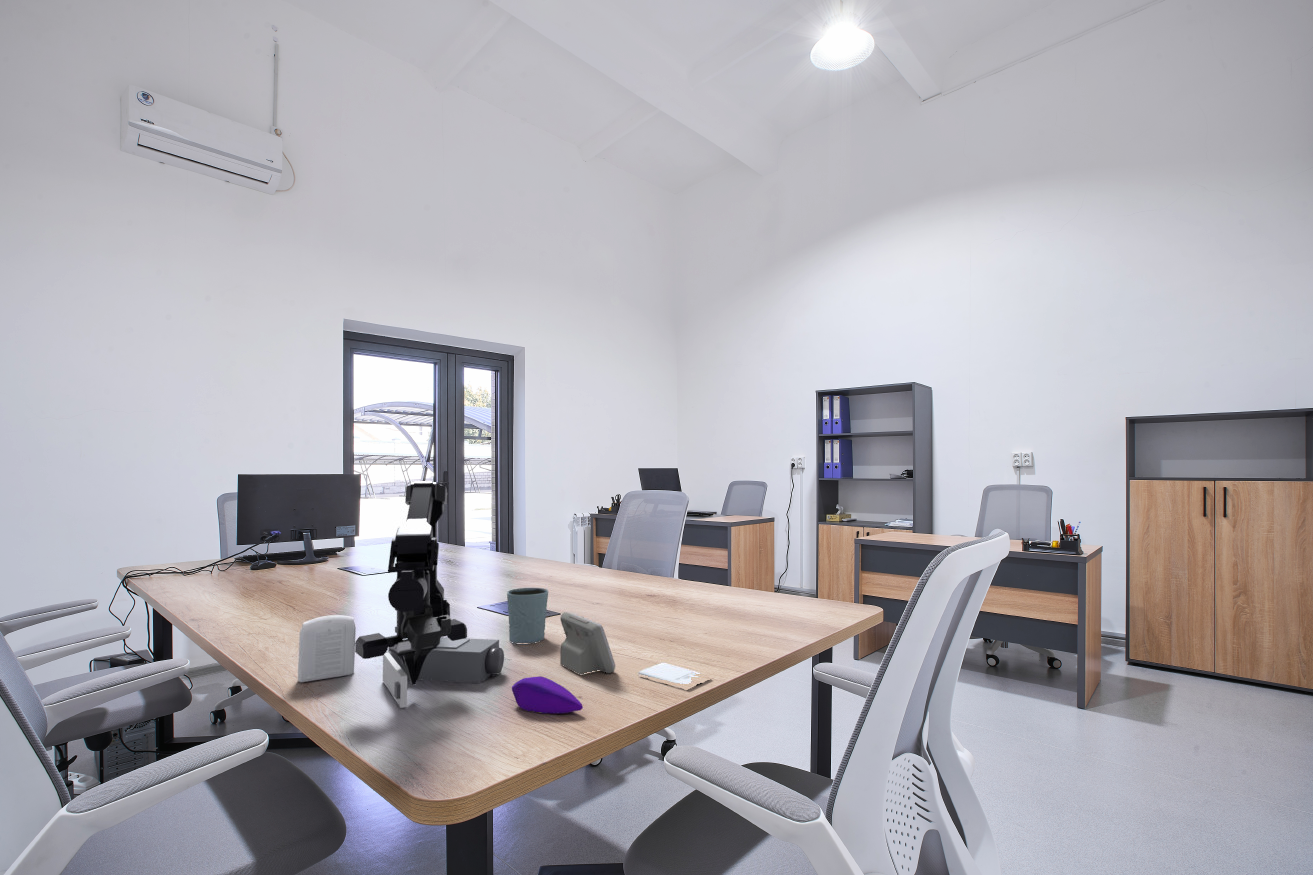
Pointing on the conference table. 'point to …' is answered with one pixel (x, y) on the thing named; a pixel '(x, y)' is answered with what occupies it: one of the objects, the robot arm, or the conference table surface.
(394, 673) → the side door
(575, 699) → the purple teardrop stone
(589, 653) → the digital clock
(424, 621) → the robot arm
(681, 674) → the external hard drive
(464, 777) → the conference table surface
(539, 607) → the teal cup
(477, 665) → the camera housing
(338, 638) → the white upright block
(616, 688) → the conference table surface
